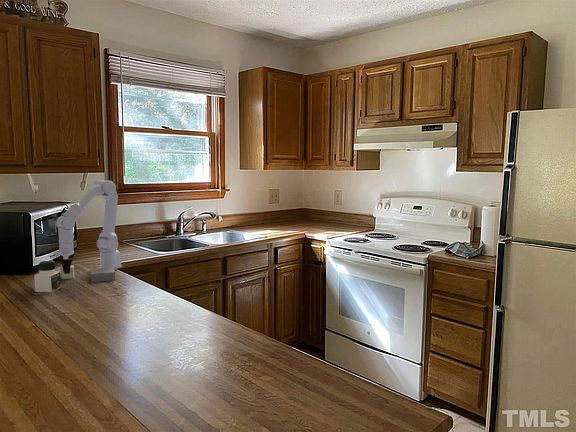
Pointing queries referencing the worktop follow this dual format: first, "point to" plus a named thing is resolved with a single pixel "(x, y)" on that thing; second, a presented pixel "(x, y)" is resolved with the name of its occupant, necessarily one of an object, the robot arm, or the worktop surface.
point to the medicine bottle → (47, 277)
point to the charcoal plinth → (102, 274)
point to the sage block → (67, 276)
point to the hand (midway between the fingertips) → (67, 271)
